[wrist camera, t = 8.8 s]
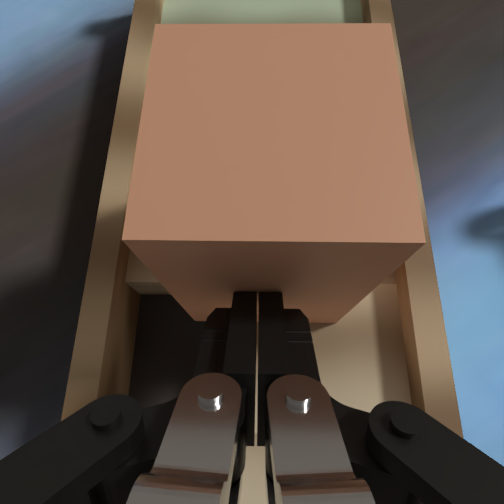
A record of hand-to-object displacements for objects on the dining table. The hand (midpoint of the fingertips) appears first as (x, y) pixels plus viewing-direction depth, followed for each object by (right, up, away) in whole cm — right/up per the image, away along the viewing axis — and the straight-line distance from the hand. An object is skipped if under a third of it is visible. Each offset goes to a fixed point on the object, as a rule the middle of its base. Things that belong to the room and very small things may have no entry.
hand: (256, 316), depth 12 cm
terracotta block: (0, +2, +5) cm, 6 cm away
